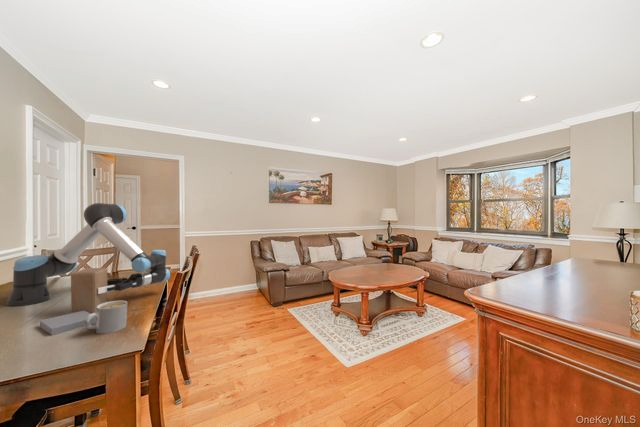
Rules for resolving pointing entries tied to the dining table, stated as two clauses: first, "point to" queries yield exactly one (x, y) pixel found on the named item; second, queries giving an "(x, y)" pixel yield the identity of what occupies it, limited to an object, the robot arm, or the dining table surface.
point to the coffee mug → (109, 317)
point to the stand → (65, 322)
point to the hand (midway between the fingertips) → (91, 288)
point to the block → (88, 289)
